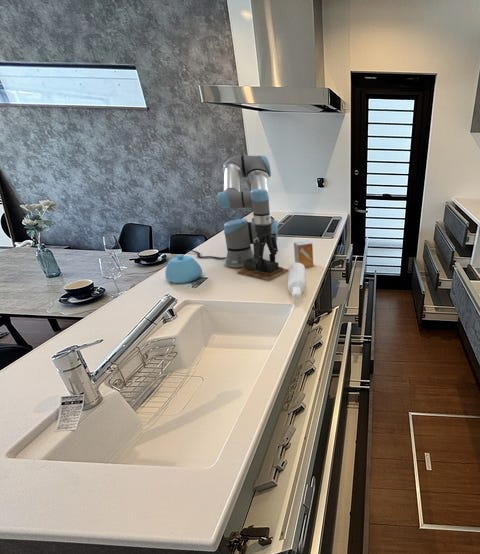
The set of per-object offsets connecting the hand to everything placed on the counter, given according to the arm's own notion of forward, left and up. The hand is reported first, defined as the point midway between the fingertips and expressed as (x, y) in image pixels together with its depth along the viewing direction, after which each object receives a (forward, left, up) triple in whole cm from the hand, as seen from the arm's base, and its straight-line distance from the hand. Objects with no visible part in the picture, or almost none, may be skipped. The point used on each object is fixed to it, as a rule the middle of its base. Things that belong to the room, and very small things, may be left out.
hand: (268, 268), depth 152 cm
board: (-3, 0, -2) cm, 4 cm away
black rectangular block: (0, 0, -1) cm, 1 cm away
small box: (+10, +17, -3) cm, 20 cm away
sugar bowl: (-30, -23, -3) cm, 38 cm away
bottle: (+16, +3, +2) cm, 16 cm away
